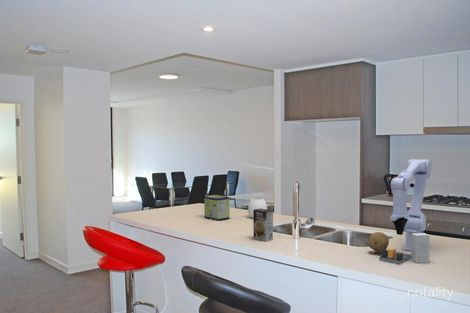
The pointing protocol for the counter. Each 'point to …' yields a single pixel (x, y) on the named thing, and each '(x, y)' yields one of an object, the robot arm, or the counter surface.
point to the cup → (256, 205)
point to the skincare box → (420, 247)
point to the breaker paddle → (391, 253)
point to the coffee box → (263, 224)
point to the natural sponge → (378, 242)
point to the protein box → (216, 207)
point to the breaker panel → (398, 259)
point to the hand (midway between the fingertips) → (399, 234)
